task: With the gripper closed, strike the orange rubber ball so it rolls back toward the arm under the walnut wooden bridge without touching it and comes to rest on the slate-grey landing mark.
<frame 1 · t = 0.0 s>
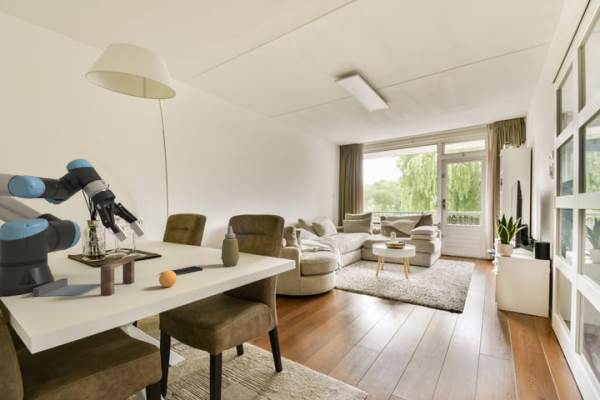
hand: (133, 237, 110), 15 cm above the table, tool tilted 35°, fingers open, 13 cm apart
bridge: (118, 288, 94), on the table
ball: (167, 278, 95), on the table
landing mark: (74, 289, 92), on the table
squeeze bottle: (230, 265, 127), on the table
phone: (182, 273, 116), on the table
stopper wall: (51, 290, 92), on the table
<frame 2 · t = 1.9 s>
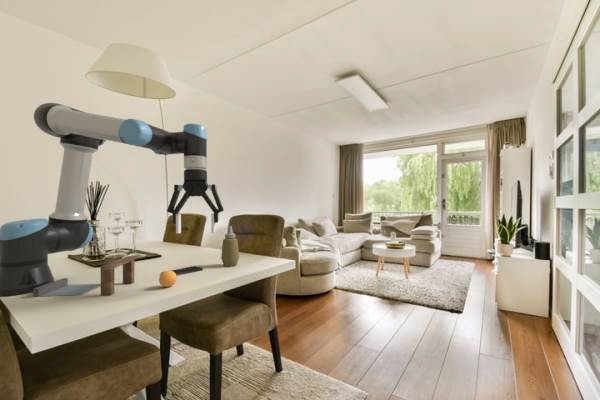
hand: (196, 232, 96), 18 cm above the table, tool pointing down, fingers open, 11 cm apart
nothing on the table moved.
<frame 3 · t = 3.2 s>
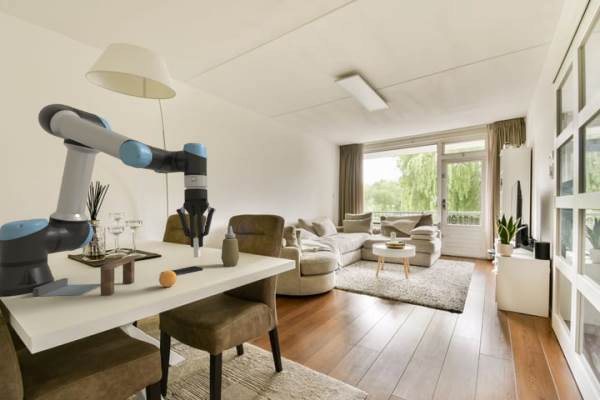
hand: (197, 256, 96), 10 cm above the table, tool pointing down, fingers closed
nothing on the table moved.
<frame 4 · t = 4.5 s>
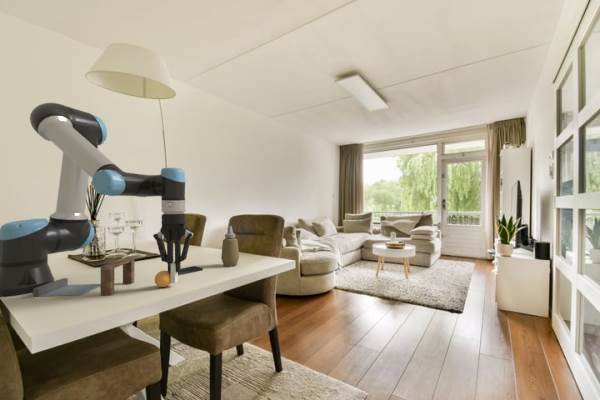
hand: (174, 281, 95), 2 cm above the table, tool pointing down, fingers closed
ball: (163, 278, 95), on the table, touching gripper
everything else where it was.
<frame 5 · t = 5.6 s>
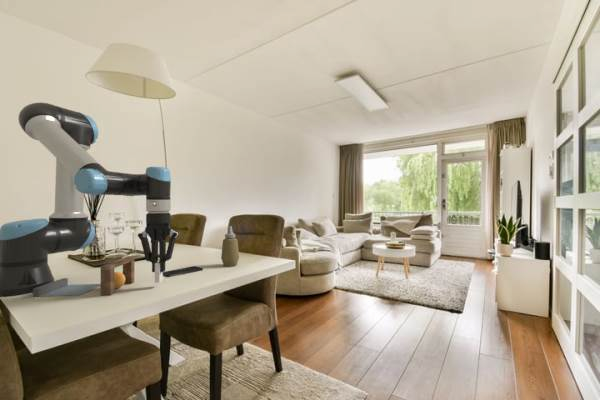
hand: (158, 281, 95), 2 cm above the table, tool pointing down, fingers closed
ball: (115, 280, 93), on the table
everything else where it was.
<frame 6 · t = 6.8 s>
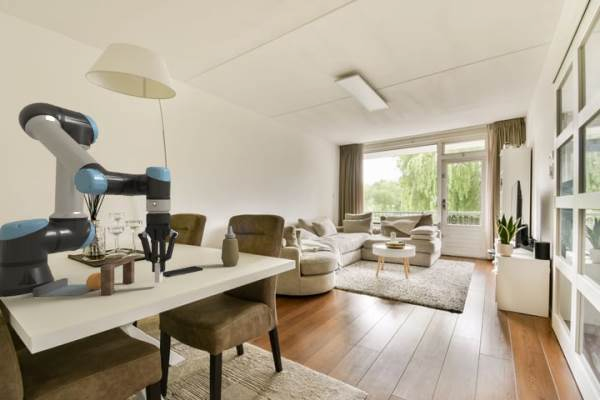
hand: (158, 281, 95), 2 cm above the table, tool pointing down, fingers closed
ball: (96, 281, 93), on the table
everything else where it was.
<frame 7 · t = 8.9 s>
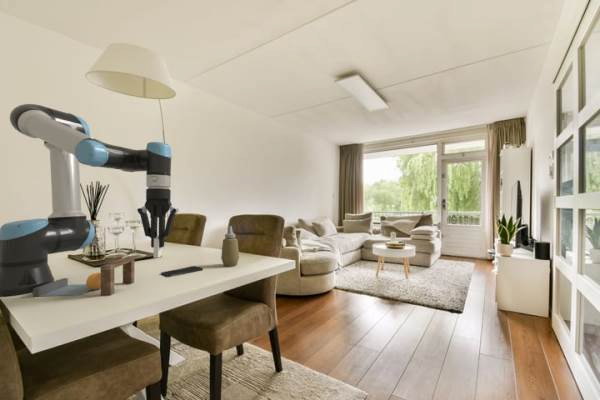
hand: (157, 256, 95), 10 cm above the table, tool pointing down, fingers closed
nothing on the table moved.
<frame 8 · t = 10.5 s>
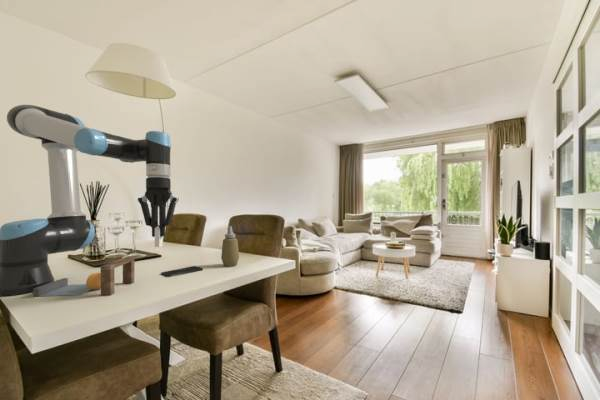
hand: (158, 246, 95), 14 cm above the table, tool pointing down, fingers closed
nothing on the table moved.
at the end: ball 7.0 cm from the landing mark (horizontally); ball never touched bridge; ball at rest at the end (0.0 cm/s) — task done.
